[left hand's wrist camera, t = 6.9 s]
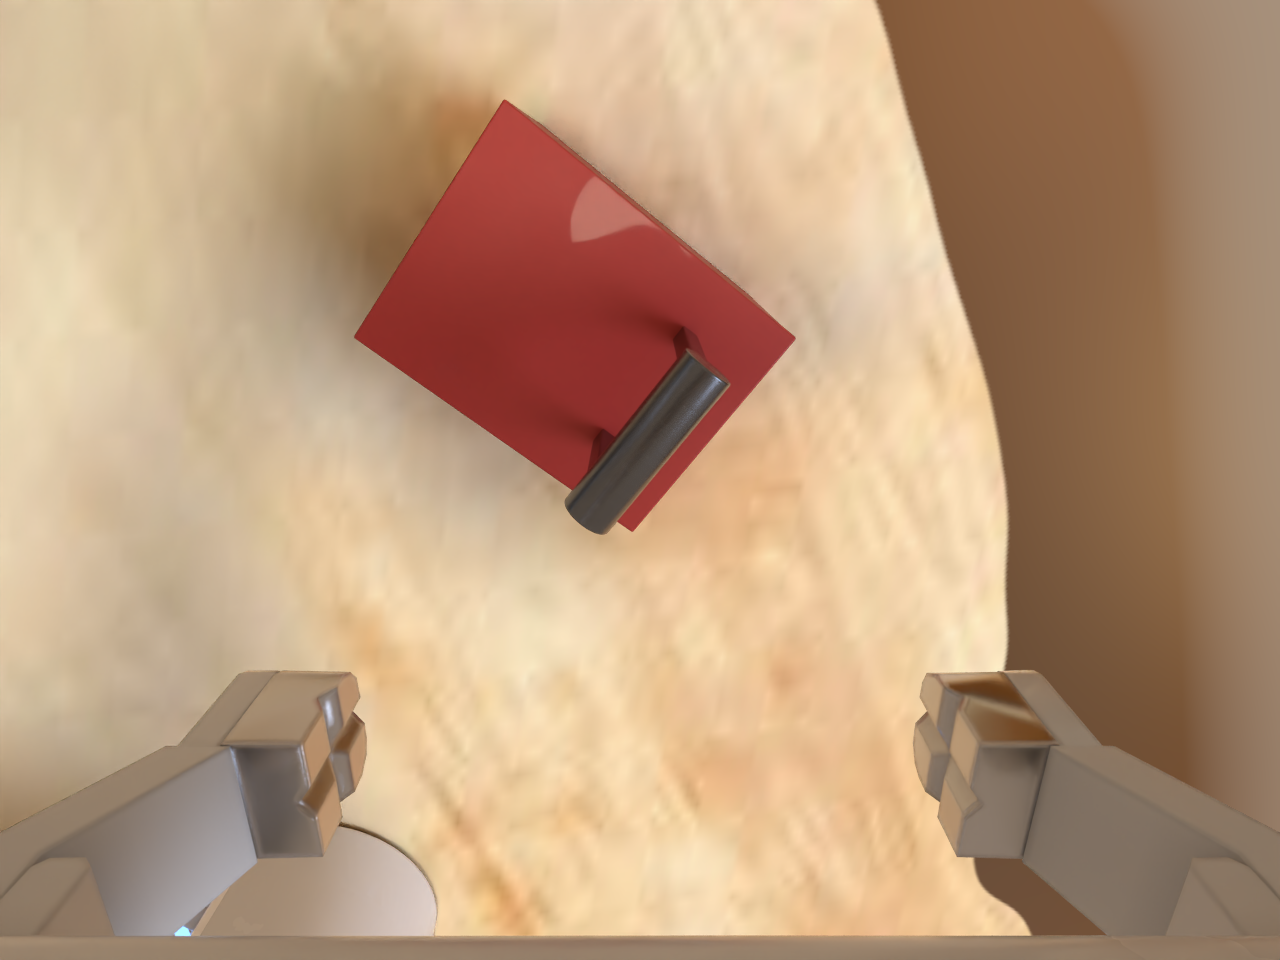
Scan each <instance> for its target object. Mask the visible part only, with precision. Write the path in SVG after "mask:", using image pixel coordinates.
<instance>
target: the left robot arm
mask: <svg viewBox="0 0 1280 960" xmlns="http://www.w3.org/2000/svg"><path fill="white" fill-rule="evenodd" d="M359 699H360V693H359V688H358V683H357V678H356V677H355V676H354V675H353V674H352V673H351V672H321V671H246V672H243V673H240V674H238V675H237V676H236V678H235V679H234V680H233V681H232V682H231V683H230V685H229V686H228V687H227V688H226V689H225V691H224V692H223V693H222V694H221V695H220V696H219V698H218V699H217V700H216V701H215V702H214V703H213V705H212V706H211V707H210V708H209V709H208V711H207V712H206V713H205V714H204V715H203V716H202V718H201V719H200V720H199V721H198V722H197V724H196V725H195V726H194V727H193V728H192V729H191V731H190V732H189V733H188V734H187V735H186V737H185V738H184V739H183V740H182V741H181V742H180V744H179V745H178V746H165V747H163V748H161V749H159V750H158V751H156V752H154V753H152V754H150V755H148V756H146V757H144V758H142V759H140V760H138V761H136V762H134V763H133V764H131V765H129V766H127V767H125V768H123V769H121V770H119V771H117V772H115V773H113V774H111V775H109V776H108V777H106V778H104V779H102V780H100V781H98V782H96V783H94V784H92V785H90V786H88V787H86V788H84V789H83V790H81V791H79V792H77V793H75V794H73V795H71V796H69V797H67V798H65V799H63V800H61V801H60V802H58V803H56V804H54V805H52V806H50V807H48V808H46V809H44V810H42V811H40V812H38V813H36V814H35V815H33V816H31V817H29V818H27V819H25V820H23V821H21V822H19V823H17V824H15V825H13V826H11V827H10V828H8V829H6V830H4V831H2V832H0V960H1280V832H1278V831H1276V830H1274V829H1272V828H1270V827H1268V826H1266V825H1264V824H1262V823H1260V822H1259V821H1257V820H1255V819H1253V818H1251V817H1249V816H1247V815H1245V814H1243V813H1241V812H1239V811H1237V810H1236V809H1234V808H1232V807H1230V806H1228V805H1226V804H1224V803H1222V802H1220V801H1218V800H1216V799H1214V798H1212V797H1211V796H1209V795H1207V794H1205V793H1203V792H1201V791H1199V790H1197V789H1195V788H1193V787H1191V786H1190V785H1188V784H1186V783H1184V782H1182V781H1180V780H1178V779H1176V778H1174V777H1172V776H1170V775H1168V774H1167V773H1165V772H1163V771H1161V770H1159V769H1157V768H1155V767H1153V766H1151V765H1149V764H1147V763H1145V762H1143V761H1142V760H1140V759H1138V758H1136V757H1134V756H1132V755H1130V754H1128V753H1126V752H1124V751H1122V750H1120V749H1119V748H1117V747H1115V746H1102V745H1101V744H1100V742H1099V741H1098V740H1097V739H1096V738H1095V737H1094V735H1093V734H1092V733H1091V732H1090V731H1089V730H1088V728H1087V727H1086V726H1085V725H1084V724H1083V722H1082V721H1081V720H1080V719H1079V718H1078V717H1077V715H1076V714H1075V713H1074V712H1073V711H1072V709H1071V708H1070V707H1069V706H1068V705H1067V704H1066V702H1065V701H1064V700H1063V699H1062V698H1061V697H1060V695H1059V694H1058V693H1057V692H1056V691H1055V689H1054V688H1053V687H1052V686H1051V685H1050V684H1049V682H1048V681H1047V680H1046V679H1045V678H1044V676H1043V675H1041V674H1040V673H1038V672H1036V671H1034V670H1021V671H998V672H966V673H927V674H926V676H925V678H924V680H923V682H922V687H921V693H920V699H921V700H922V702H923V704H924V706H925V708H926V710H927V712H926V713H925V714H924V715H923V716H922V717H921V718H920V719H919V720H918V721H917V722H916V723H915V731H914V739H913V748H914V759H915V765H916V769H917V772H918V776H919V779H920V781H921V783H922V785H923V787H924V790H925V792H927V793H928V794H929V795H931V796H932V797H934V798H935V799H936V800H938V801H939V802H940V805H939V811H938V819H939V821H940V823H941V825H942V827H943V829H944V831H945V833H946V835H947V837H948V839H949V842H950V844H951V846H952V848H953V850H954V852H955V854H956V856H957V857H980V858H1015V859H1023V860H1022V862H1023V863H1024V864H1025V865H1026V866H1028V867H1029V868H1030V869H1031V870H1032V871H1033V872H1035V873H1036V874H1037V875H1038V876H1039V877H1040V878H1042V879H1043V880H1044V881H1045V882H1046V883H1047V884H1049V885H1050V886H1051V887H1052V888H1053V889H1054V890H1055V891H1057V892H1058V893H1059V894H1060V895H1061V896H1062V897H1064V898H1065V899H1066V900H1067V901H1068V902H1069V903H1071V904H1072V905H1073V906H1074V907H1075V908H1076V909H1078V910H1079V911H1080V912H1081V913H1082V914H1083V915H1085V916H1086V917H1087V918H1088V919H1089V920H1090V921H1091V922H1093V923H1094V924H1095V925H1096V926H1097V927H1098V928H1100V929H1101V930H1102V931H1103V932H1104V933H1105V934H1107V935H1108V936H434V930H435V925H436V918H437V908H436V901H435V897H434V894H433V891H432V889H431V887H430V885H429V883H428V881H427V879H426V878H425V876H424V875H423V873H422V872H421V871H420V870H419V868H418V867H417V866H416V865H415V864H414V863H413V862H412V861H411V860H410V859H409V858H408V857H406V856H405V855H404V854H403V853H401V852H400V851H399V850H397V849H396V848H394V847H393V846H391V845H389V844H388V843H386V842H384V841H382V840H380V839H378V838H376V837H373V836H371V835H369V834H366V833H363V832H360V831H357V830H353V829H350V828H345V827H340V826H338V825H339V823H340V821H341V819H342V811H341V805H340V802H341V801H342V800H344V799H345V798H346V797H348V796H349V795H351V794H352V793H353V792H355V790H356V787H357V785H358V783H359V781H360V779H361V776H362V773H363V768H364V763H365V759H366V748H367V737H366V730H365V723H364V722H363V721H362V720H361V719H360V718H359V717H358V716H357V715H356V714H355V713H354V712H353V710H354V708H355V706H356V704H357V702H358V701H359Z"/></svg>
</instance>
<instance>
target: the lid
mask: <svg viewBox="0 0 1280 960" xmlns="http://www.w3.org/2000/svg"><path fill="white" fill-rule="evenodd" d="M354 338H355V339H357V340H358V341H359V342H361V343H362V344H364V345H365V346H367V347H368V348H369V349H371V350H372V351H374V352H375V353H377V354H378V355H379V356H381V357H382V358H384V359H385V360H387V361H388V362H390V363H391V364H392V365H394V366H395V367H397V368H398V369H400V370H401V371H402V372H404V373H405V374H407V375H408V376H410V377H411V378H412V379H414V380H415V381H417V382H418V383H420V384H421V385H422V386H424V387H425V388H427V389H428V390H430V391H431V392H432V393H434V394H435V395H437V396H438V397H440V398H441V399H442V400H444V401H445V402H447V403H448V404H450V405H451V406H452V407H454V408H455V409H457V410H458V411H460V412H461V413H463V414H464V415H465V416H467V417H468V418H470V419H471V420H473V421H474V422H475V423H477V424H478V425H480V426H481V427H483V428H484V429H485V430H487V431H488V432H490V433H491V434H493V435H494V436H495V437H497V438H498V439H500V440H501V441H503V442H504V443H505V444H507V445H508V446H510V447H511V448H513V449H514V450H515V451H517V452H518V453H520V454H521V455H523V456H524V457H525V458H527V459H528V460H530V461H531V462H533V463H534V464H536V465H537V466H538V467H540V468H541V469H543V470H544V471H546V472H547V473H548V474H550V475H551V476H553V477H554V478H556V479H557V480H558V481H560V482H561V483H563V484H564V485H566V486H567V487H568V488H570V489H571V490H572V491H571V493H570V494H569V495H568V496H567V498H566V499H565V507H566V509H567V510H568V512H569V513H570V515H571V516H572V517H573V518H574V519H575V520H576V521H577V522H578V523H579V524H581V525H582V526H583V527H585V528H586V529H588V530H590V531H592V532H594V533H596V534H600V535H604V534H607V533H608V532H609V531H610V529H611V528H612V527H613V526H614V525H615V523H616V522H619V523H620V524H621V525H623V526H624V527H626V528H627V529H629V530H630V531H632V532H633V531H634V530H635V529H636V528H637V526H638V525H639V524H640V523H641V522H642V520H643V519H644V518H645V517H646V516H647V514H648V513H649V512H650V511H651V510H652V509H653V507H654V506H655V505H656V504H657V503H658V501H659V500H660V499H661V498H662V497H663V496H664V494H665V493H666V492H667V491H668V490H669V488H670V487H671V486H672V485H673V484H674V483H675V481H676V480H677V479H678V478H679V477H680V475H681V474H682V473H683V472H684V471H685V470H686V468H687V467H688V466H689V465H690V464H691V462H692V461H693V460H694V459H695V458H696V457H697V455H698V454H699V453H700V452H701V451H702V449H703V448H704V447H705V446H706V445H707V443H708V442H709V441H710V440H711V439H712V438H713V436H714V435H715V434H716V433H717V432H718V430H719V429H720V428H721V427H722V426H723V425H724V423H725V422H726V421H727V420H728V419H729V417H730V416H731V415H732V414H733V413H734V412H735V410H736V409H737V408H738V407H739V406H740V404H741V403H742V402H743V401H744V400H745V399H746V397H747V396H748V395H749V394H750V393H751V391H752V390H753V389H754V388H755V387H756V385H757V384H758V383H759V382H760V381H761V380H762V378H763V377H764V376H765V375H766V374H767V372H768V371H769V370H770V369H771V368H772V367H773V365H774V364H775V363H776V362H777V361H778V359H779V358H780V357H781V356H782V355H783V354H784V352H785V351H786V350H787V349H788V348H789V346H790V345H791V344H792V343H793V342H794V341H795V339H796V338H795V337H794V336H793V335H792V334H791V333H790V332H789V331H787V330H786V329H785V328H784V327H783V326H781V325H780V324H779V323H778V322H776V321H775V320H774V319H773V318H772V317H770V316H769V315H768V314H767V313H766V312H764V311H763V310H762V309H761V308H759V307H758V306H757V305H756V304H755V303H753V302H752V301H751V300H750V299H748V298H747V297H746V296H745V295H744V294H742V293H741V292H740V291H739V290H737V289H736V288H735V287H734V286H733V285H731V284H730V283H729V282H728V281H727V280H725V279H724V278H723V277H722V276H720V275H719V274H718V273H717V272H716V271H714V270H713V269H712V268H711V267H709V266H708V265H707V264H706V263H705V262H703V261H702V260H701V259H700V258H698V257H697V256H696V255H695V254H694V253H692V252H691V251H690V250H689V249H688V248H686V247H685V246H684V245H683V244H681V243H680V242H679V241H678V240H677V239H675V238H674V237H673V236H672V235H670V234H669V233H668V232H667V231H666V230H664V229H663V228H662V227H661V226H659V225H658V224H657V223H656V222H655V221H653V220H652V219H651V218H650V217H648V216H647V215H646V214H645V213H644V212H642V211H641V210H640V209H639V208H638V207H636V206H635V205H634V204H633V203H631V202H630V201H629V200H628V199H627V198H625V197H624V196H623V195H622V194H620V193H619V192H618V191H617V190H616V189H614V188H613V187H612V186H611V185H609V184H608V183H607V182H606V181H605V180H603V179H602V178H601V177H600V176H599V175H597V174H596V173H595V172H594V171H592V170H591V169H590V168H589V167H588V166H586V165H585V164H584V163H583V162H581V161H580V160H579V159H578V158H577V157H575V156H574V155H573V154H572V153H570V152H569V151H568V150H567V149H566V148H564V147H563V146H562V145H561V144H560V143H558V142H557V141H556V140H555V139H553V138H552V137H551V136H550V135H549V134H547V133H546V132H545V131H544V130H542V129H541V128H540V127H539V126H538V125H536V124H535V123H534V122H533V121H531V120H530V119H529V118H528V117H527V116H525V115H524V114H523V113H522V112H520V111H519V110H518V109H517V108H516V107H514V106H513V105H512V104H511V103H509V102H508V101H507V100H503V102H502V103H501V105H500V106H499V108H498V109H497V111H496V113H495V114H494V116H493V117H492V119H491V121H490V122H489V124H488V125H487V127H486V128H485V130H484V132H483V133H482V135H481V136H480V138H479V140H478V141H477V143H476V144H475V146H474V147H473V149H472V151H471V152H470V154H469V155H468V157H467V159H466V160H465V162H464V163H463V165H462V166H461V168H460V170H459V171H458V173H457V174H456V176H455V178H454V179H453V181H452V182H451V184H450V185H449V187H448V189H447V190H446V192H445V193H444V195H443V196H442V198H441V200H440V201H439V203H438V204H437V206H436V208H435V209H434V211H433V212H432V214H431V215H430V217H429V219H428V220H427V222H426V223H425V225H424V227H423V228H422V230H421V231H420V233H419V234H418V236H417V238H416V239H415V241H414V242H413V244H412V246H411V247H410V249H409V250H408V252H407V253H406V255H405V257H404V258H403V260H402V261H401V263H400V265H399V266H398V268H397V269H396V271H395V272H394V274H393V276H392V277H391V279H390V280H389V282H388V284H387V285H386V287H385V288H384V290H383V291H382V293H381V295H380V296H379V298H378V299H377V301H376V303H375V304H374V306H373V307H372V309H371V310H370V312H369V314H368V315H367V317H366V318H365V320H364V321H363V323H362V325H361V326H360V328H359V329H358V331H357V333H356V334H355V336H354Z"/></svg>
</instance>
